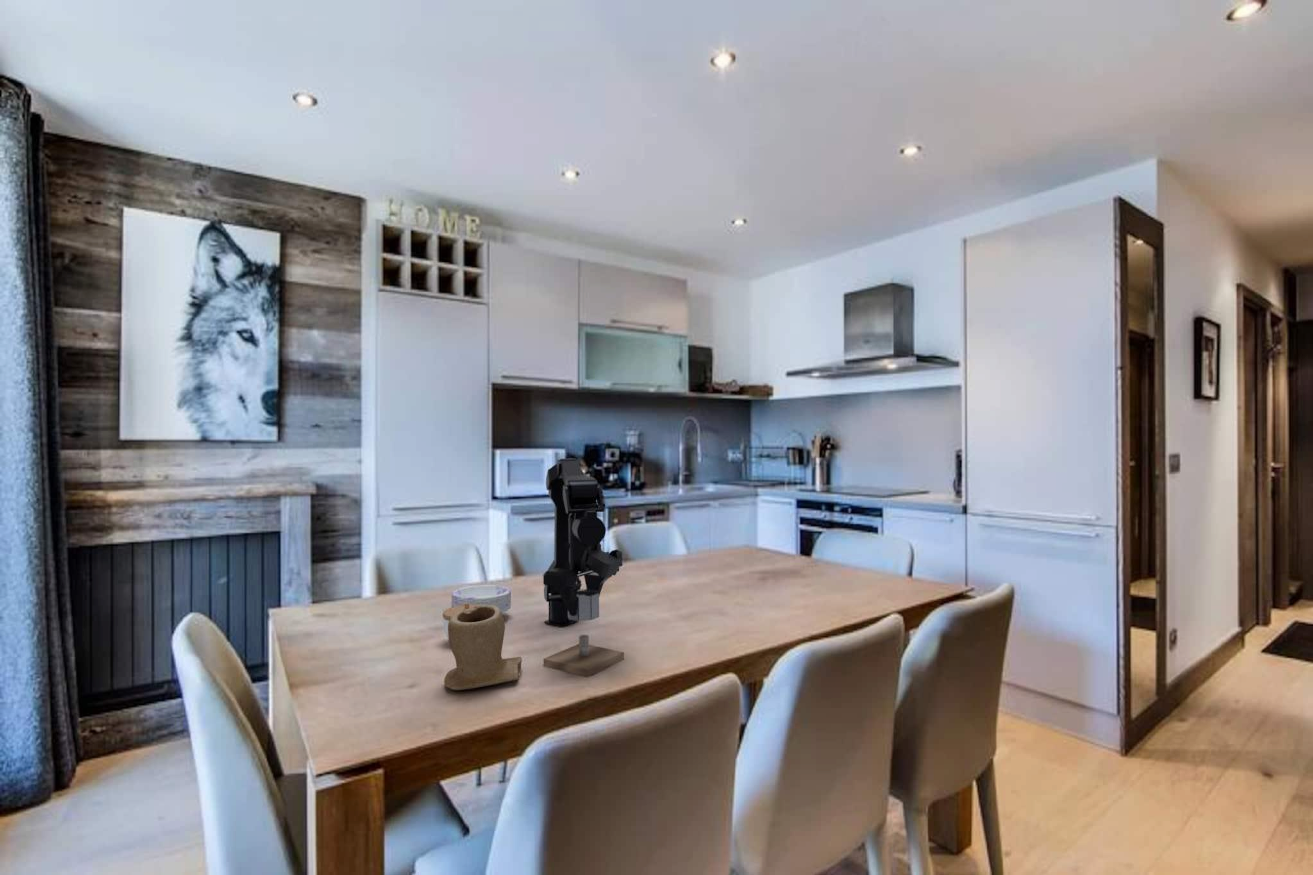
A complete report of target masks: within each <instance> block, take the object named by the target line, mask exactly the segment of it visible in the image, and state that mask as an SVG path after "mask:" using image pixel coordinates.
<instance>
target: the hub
mask: <svg viewBox="0 0 1313 875" xmlns="http://www.w3.org/2000/svg"><path fill="white" fill-rule="evenodd" d="M568 618H569V619H570V620H575V621H577V622H586V621H592V620H593V621H594V620H595V619H597V618H600V596H599V592H598V591H597V590H591V589H587V588H583V589H581V588H580V590H578V591H577V603H576V615H575V616H571V615H570V613H569V611H568Z"/></svg>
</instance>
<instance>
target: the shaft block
mask: <svg viewBox="0 0 1313 875" xmlns="http://www.w3.org/2000/svg"><path fill="white" fill-rule="evenodd" d="M589 637H590V636H589V635H587V634H581V635H579V636H578V643H577V644H575V645H572V646H570V647H568V648H565V649H562V650H561V651H558V652H556V653H554V654H551V655H549V656H547V657H545V658H543V667H545V668H549V669H553V670H559V671H562V672H566V673H571V674H575V675H579V676H582V677H585V678H586V677H587V678H590V677H592V676H593V675H595V674H597V673H599V672H601V671H603V670H605V669H607V668H609V667H611V666H613V665H615V664H617V663H619V662H621V661H623V660H624V659H625V653H624V651H621V650H615V649H611V648H606V647H601V646H597V645H594V644H593V645H592V644H589V641H590V639H589Z"/></svg>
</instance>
